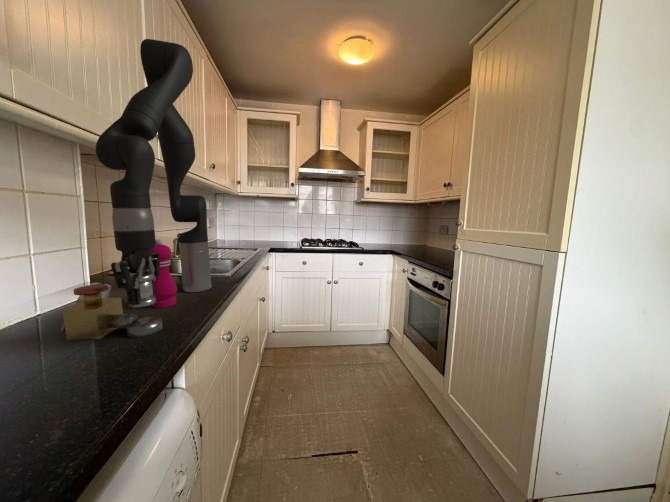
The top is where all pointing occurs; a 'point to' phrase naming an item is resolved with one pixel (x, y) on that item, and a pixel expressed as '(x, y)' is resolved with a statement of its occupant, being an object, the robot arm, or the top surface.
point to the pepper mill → (164, 278)
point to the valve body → (103, 316)
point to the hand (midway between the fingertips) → (142, 299)
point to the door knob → (145, 291)
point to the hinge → (80, 299)
